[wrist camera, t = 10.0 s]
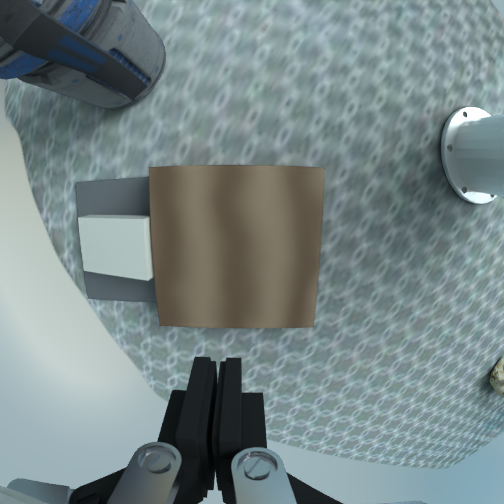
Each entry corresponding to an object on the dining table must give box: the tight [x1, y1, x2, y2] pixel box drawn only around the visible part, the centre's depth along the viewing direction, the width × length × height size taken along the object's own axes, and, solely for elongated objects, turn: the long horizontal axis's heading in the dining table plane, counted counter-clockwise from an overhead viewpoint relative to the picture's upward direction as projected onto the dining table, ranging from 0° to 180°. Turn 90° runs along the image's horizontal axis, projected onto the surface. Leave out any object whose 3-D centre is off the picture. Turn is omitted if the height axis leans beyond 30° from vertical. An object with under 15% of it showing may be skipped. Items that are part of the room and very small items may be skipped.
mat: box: [76, 177, 157, 302], centre depth 32 cm, size 10×14×1 cm
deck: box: [149, 165, 324, 328], centre depth 31 cm, size 16×16×4 cm
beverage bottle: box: [0, 0, 166, 109], centre depth 16 cm, size 10×13×25 cm
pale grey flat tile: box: [78, 215, 155, 281], centre depth 30 cm, size 9×6×2 cm, turn 89°
